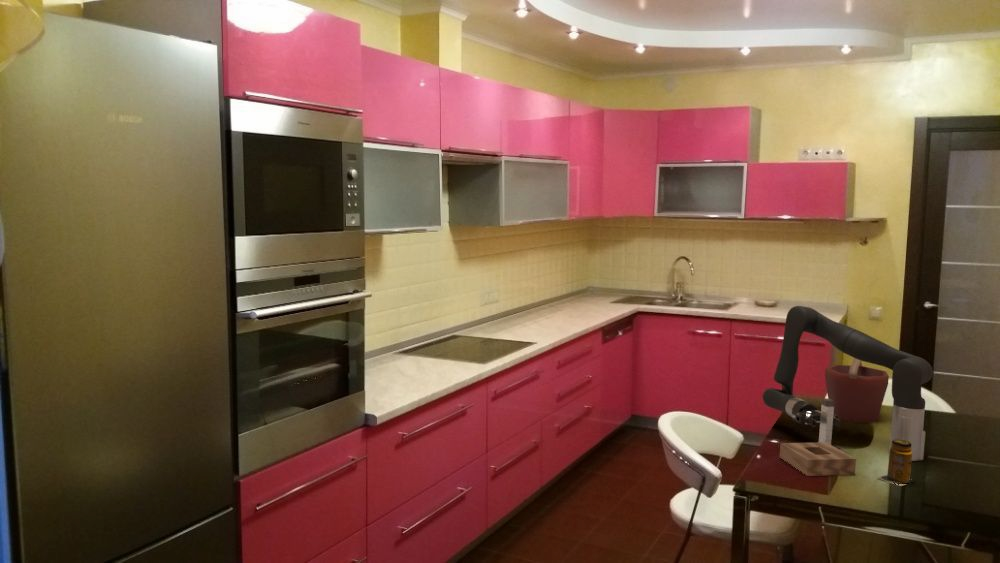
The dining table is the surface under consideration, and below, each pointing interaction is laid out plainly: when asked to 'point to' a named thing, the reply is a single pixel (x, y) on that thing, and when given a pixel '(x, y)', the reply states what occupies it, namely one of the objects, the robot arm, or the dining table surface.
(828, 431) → the metal bar
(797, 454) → the tongs holder
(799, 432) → the dining table surface
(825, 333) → the robot arm
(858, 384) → the bucket
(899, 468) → the condiment
